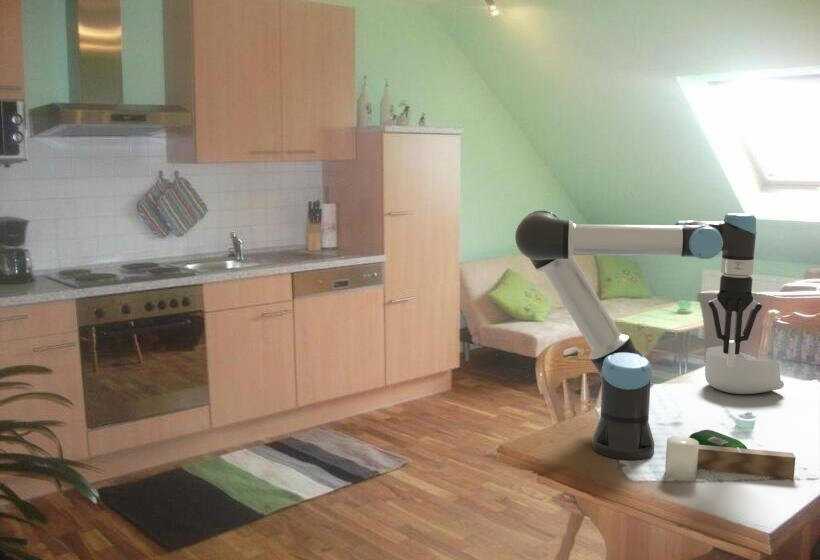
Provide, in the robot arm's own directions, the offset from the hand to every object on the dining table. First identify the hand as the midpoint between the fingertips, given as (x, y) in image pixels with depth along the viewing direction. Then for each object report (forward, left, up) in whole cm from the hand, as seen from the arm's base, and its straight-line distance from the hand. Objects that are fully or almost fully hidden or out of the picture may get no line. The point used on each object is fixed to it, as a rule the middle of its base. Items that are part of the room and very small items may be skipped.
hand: (730, 366), depth 210 cm
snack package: (-3, -13, -20) cm, 24 cm away
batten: (+1, -22, -20) cm, 29 cm away
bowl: (+9, +49, -20) cm, 54 cm away
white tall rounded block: (-13, -27, -20) cm, 36 cm away
